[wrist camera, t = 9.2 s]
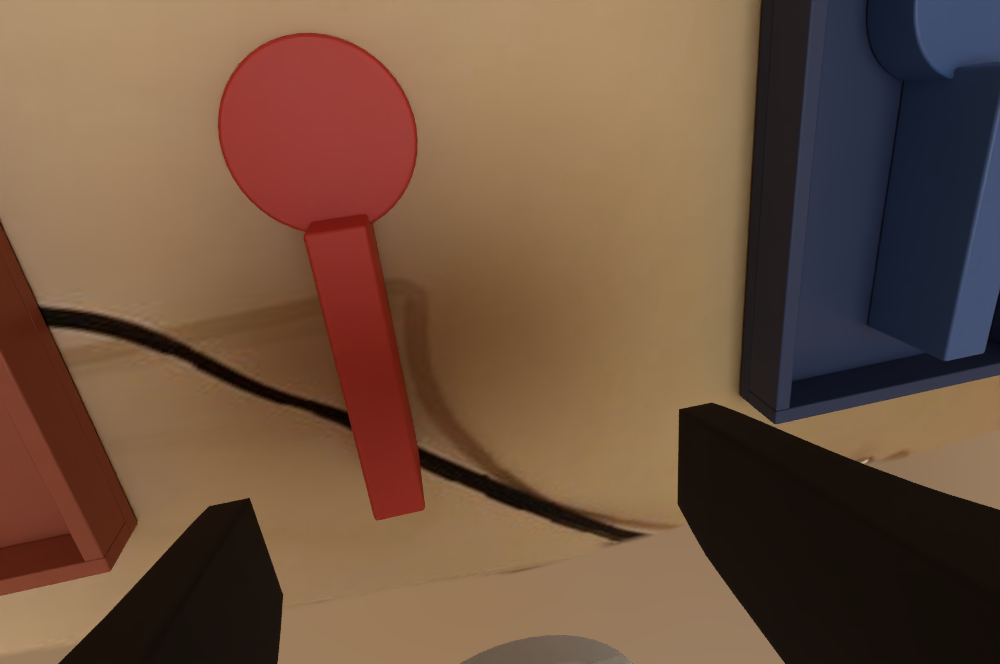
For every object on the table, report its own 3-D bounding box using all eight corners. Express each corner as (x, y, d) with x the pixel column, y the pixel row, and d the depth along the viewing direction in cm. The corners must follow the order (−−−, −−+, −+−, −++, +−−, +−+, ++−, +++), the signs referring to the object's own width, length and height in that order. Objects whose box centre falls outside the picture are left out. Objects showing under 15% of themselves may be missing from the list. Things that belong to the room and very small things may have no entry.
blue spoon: (940, 311, 20) (1028, 344, 17) (826, 334, 19) (899, 372, 17) (1024, -107, 15) (1163, -151, 13) (877, -94, 15) (991, -138, 12)
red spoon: (464, 441, 19) (479, 499, 16) (327, 469, 18) (319, 535, 16) (397, 30, 14) (402, 13, 11) (209, 50, 14) (167, 38, 11)
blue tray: (983, 344, 22) (1038, 367, 20) (739, 396, 20) (774, 425, 19) (1111, -196, 15) (1210, -236, 14) (771, -174, 14) (830, -214, 12)
